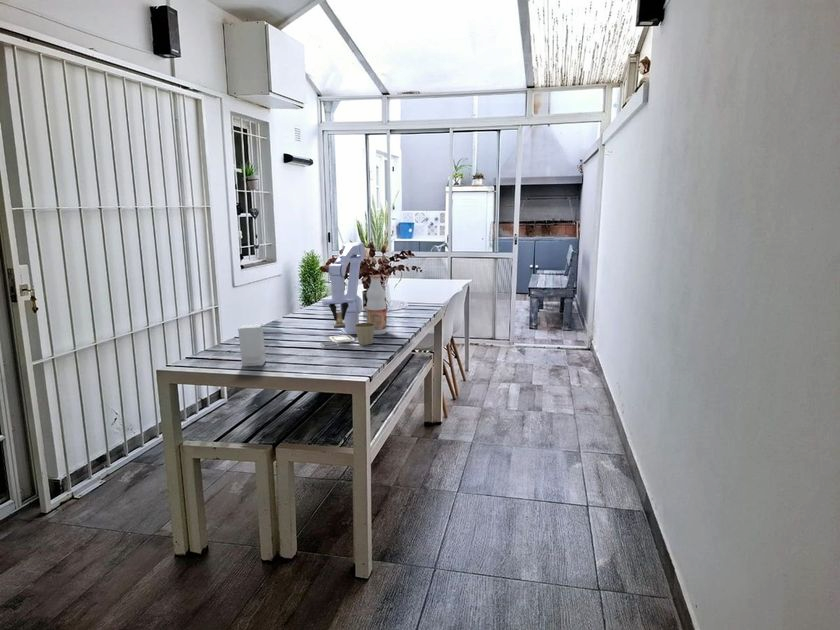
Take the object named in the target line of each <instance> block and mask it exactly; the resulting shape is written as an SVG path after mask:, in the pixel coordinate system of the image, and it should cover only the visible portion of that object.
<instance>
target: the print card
mask: <svg viewBox="0 0 840 630" xmlns="http://www.w3.org/2000/svg"><path fill="white" fill-rule="evenodd" d="M328 339H329V340H330V342H332V341H335V342H336V343H337V344H340V343H342V344H343V343H351V342H352V343H353V342H356V341H357V340H356V338H354V337H353V336H351V334H343V335H333V336H332V335H331V336H328Z"/></svg>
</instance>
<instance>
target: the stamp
mask: <svg viewBox="0 0 840 630" xmlns="http://www.w3.org/2000/svg"><path fill="white" fill-rule="evenodd" d="M336 317H337V320H336V321H335V322H334V323H333V328H334V329H343V328H345V323H344V322H343V319H342V312H340V311H336Z"/></svg>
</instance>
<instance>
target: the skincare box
mask: <svg viewBox="0 0 840 630" xmlns="http://www.w3.org/2000/svg"><path fill="white" fill-rule="evenodd" d="M237 330H238V339H239V350H240V357H241V358H240V359H241V366H242V367H258V366H264V364H265V363H266V362H267V359H266V357H267V355H266V348H265V336H264V327H263V323H257V324H256V323H255V324H241V326H240V327H238V328H237ZM265 361H266V362H265Z"/></svg>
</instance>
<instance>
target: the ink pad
mask: <svg viewBox="0 0 840 630" xmlns="http://www.w3.org/2000/svg"><path fill="white" fill-rule="evenodd" d="M320 346H321V347H322V348H323V349H332V348H339V343H336V342H335V341H323V342H320Z"/></svg>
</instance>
